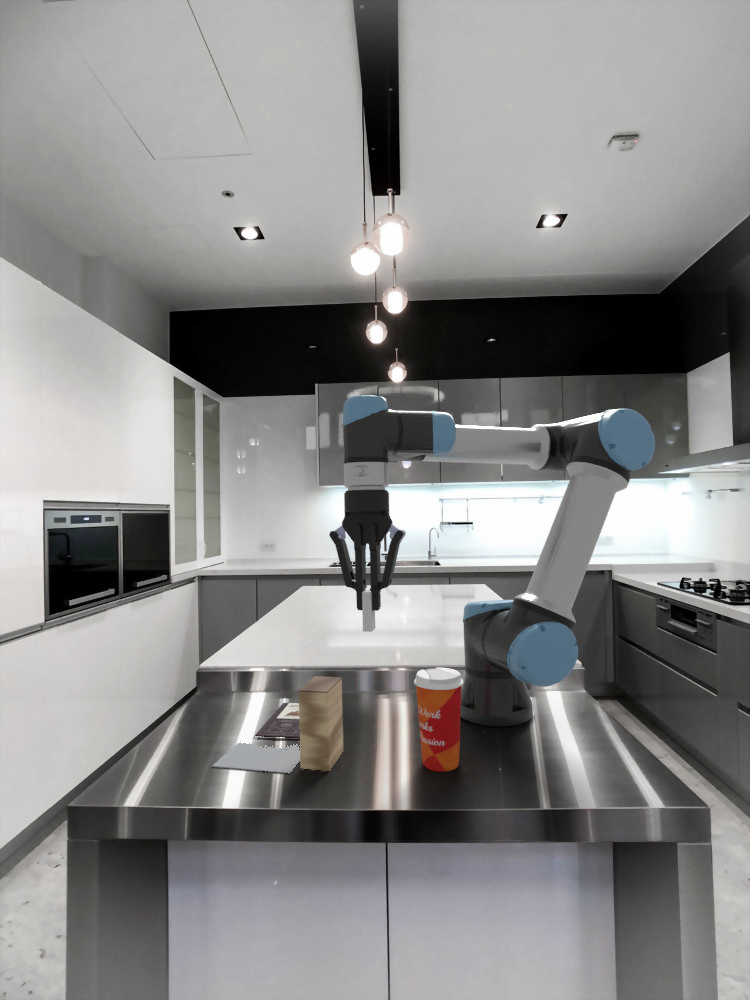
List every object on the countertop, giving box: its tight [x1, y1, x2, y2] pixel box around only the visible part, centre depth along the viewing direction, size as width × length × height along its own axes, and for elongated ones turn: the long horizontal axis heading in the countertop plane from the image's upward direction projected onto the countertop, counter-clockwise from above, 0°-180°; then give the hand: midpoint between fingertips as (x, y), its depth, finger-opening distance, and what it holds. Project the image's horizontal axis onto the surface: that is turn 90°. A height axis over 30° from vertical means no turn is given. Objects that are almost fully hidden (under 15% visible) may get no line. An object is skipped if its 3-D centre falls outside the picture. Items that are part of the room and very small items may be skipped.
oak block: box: [298, 675, 344, 772], centre depth 98 cm, size 5×8×13 cm, turn 167°
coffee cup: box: [413, 667, 464, 773], centre depth 96 cm, size 8×8×15 cm
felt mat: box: [211, 740, 300, 775], centre depth 101 cm, size 14×12×1 cm
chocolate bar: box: [254, 702, 300, 738], centre depth 117 cm, size 9×1×18 cm
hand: (369, 629), depth 96 cm, fingers closed
